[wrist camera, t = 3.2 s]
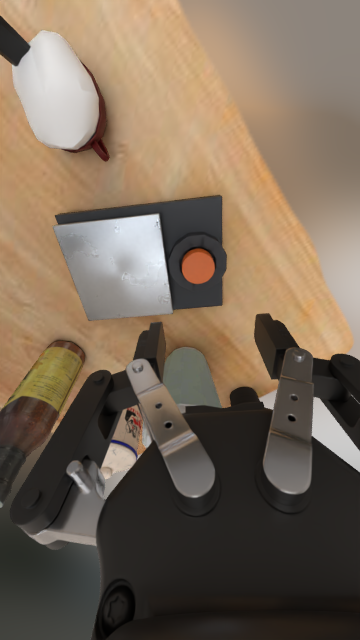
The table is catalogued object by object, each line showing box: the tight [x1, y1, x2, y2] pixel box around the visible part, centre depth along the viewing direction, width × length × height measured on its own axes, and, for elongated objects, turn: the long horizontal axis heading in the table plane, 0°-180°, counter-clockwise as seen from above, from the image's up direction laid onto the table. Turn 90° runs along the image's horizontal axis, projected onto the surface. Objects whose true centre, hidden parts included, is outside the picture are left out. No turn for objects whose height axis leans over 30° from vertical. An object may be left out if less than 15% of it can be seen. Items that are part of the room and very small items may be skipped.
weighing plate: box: [53, 213, 173, 321], centre depth 26 cm, size 11×12×1 cm
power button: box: [182, 248, 215, 284], centre depth 26 cm, size 4×4×2 cm
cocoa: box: [0, 16, 110, 162], centre depth 16 cm, size 10×6×12 cm, turn 14°
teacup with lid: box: [100, 405, 142, 479], centre depth 40 cm, size 12×9×12 cm
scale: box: [55, 195, 227, 310], centre depth 28 cm, size 18×13×3 cm
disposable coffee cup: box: [142, 347, 222, 449], centre depth 31 cm, size 11×11×15 cm
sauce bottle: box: [0, 341, 85, 508], centre depth 29 cm, size 7×6×20 cm
